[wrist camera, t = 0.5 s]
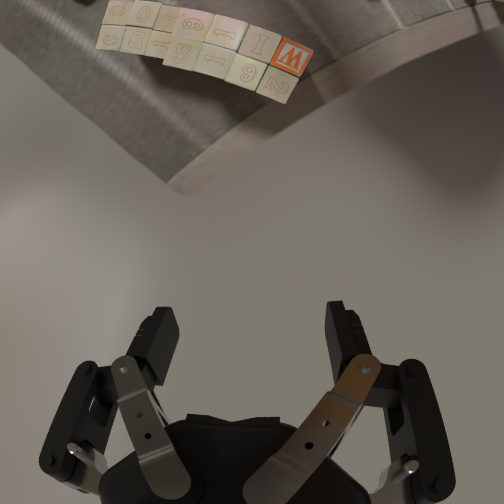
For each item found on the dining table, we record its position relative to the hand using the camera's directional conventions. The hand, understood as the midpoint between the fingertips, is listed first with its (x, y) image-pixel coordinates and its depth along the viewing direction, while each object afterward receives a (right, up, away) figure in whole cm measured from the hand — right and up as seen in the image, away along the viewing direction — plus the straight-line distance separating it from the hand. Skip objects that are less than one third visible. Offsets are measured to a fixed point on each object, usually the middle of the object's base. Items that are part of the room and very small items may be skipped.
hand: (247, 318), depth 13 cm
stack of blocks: (-5, +31, +12) cm, 33 cm away
